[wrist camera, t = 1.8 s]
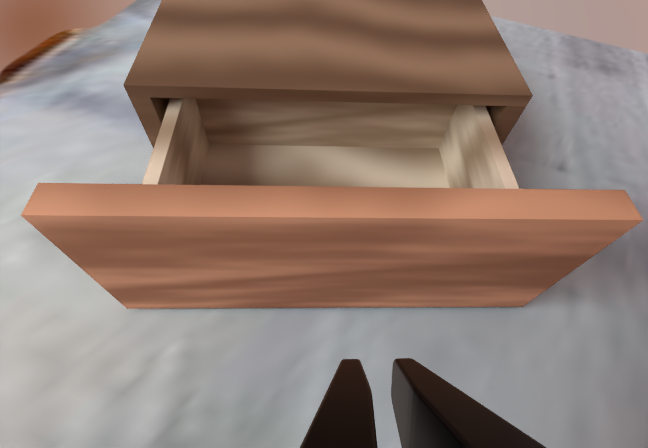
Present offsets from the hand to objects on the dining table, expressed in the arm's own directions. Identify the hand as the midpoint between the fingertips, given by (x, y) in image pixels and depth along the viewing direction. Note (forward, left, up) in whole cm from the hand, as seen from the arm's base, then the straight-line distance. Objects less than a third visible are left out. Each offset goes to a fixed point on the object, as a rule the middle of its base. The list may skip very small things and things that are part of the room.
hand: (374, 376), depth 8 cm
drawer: (+9, -10, -13) cm, 19 cm away
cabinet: (+16, -18, -14) cm, 27 cm away
